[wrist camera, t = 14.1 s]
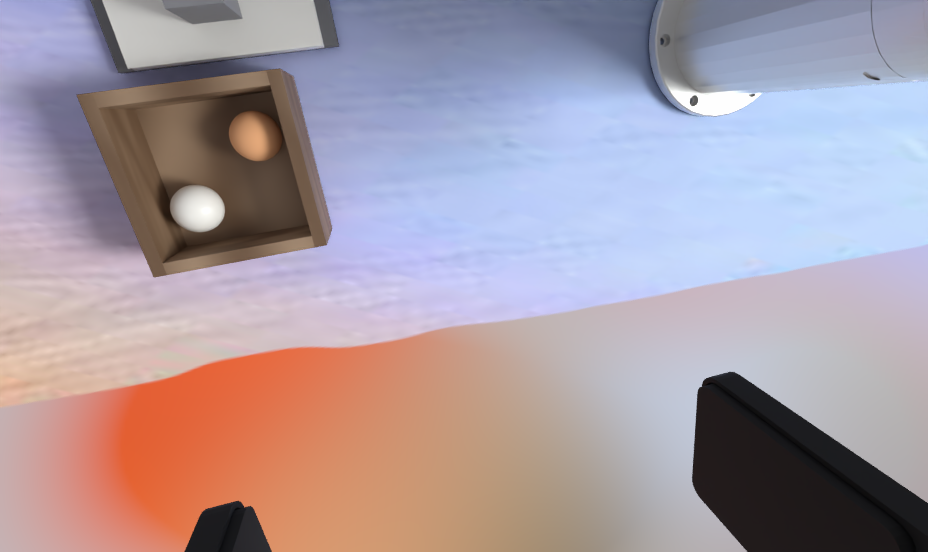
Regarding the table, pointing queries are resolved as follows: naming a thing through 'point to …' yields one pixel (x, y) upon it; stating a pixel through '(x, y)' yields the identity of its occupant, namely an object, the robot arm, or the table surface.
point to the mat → (326, 31)
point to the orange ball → (255, 136)
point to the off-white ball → (197, 208)
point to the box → (210, 168)
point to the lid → (210, 29)
